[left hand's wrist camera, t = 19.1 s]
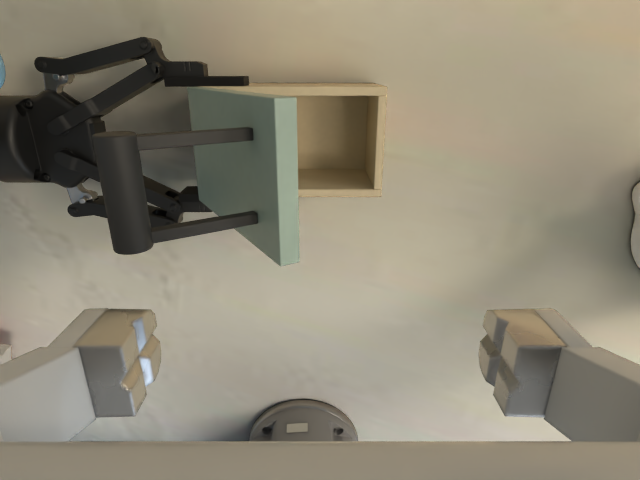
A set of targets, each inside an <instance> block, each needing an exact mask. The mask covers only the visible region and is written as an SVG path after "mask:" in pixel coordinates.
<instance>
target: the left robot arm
mask: <svg viewBox="0 0 640 480" xmlns="http://www.w3.org/2000/svg"><path fill="white" fill-rule="evenodd" d="M632 200H633V206H634V210H635V220H634V224H633V229H632V234H631V250H632V255H633V258H634V260H635V262H636V264H637V266H638V267H639V268H640V182H639V183H638V184H637V185H636V186H635V187H634V189H633V192H632ZM156 327H157V323H156V318H155V313H154V312H153V311H152V310H147V309H108V308H104V309H86V310H84V311H83V312H82V313H81V314H80V315H79V316H78V317H77V318H76V319H75V320H74V321H73V322H72V323H71V324H70V325H69V326H68V327H67V328H66V329H65V330H64V331H63V332H62V333H61V334H60V335H59V336H58V337H57V338H56V339H55V340H54V341H53V342H52V343H51V344H50V345H49V346H48V347H40V348H37V349H35V350H33V351H31V352H28V353H26V354H24V355H22V356H19V357H17V358H15V359H12V360H10V361H8V362H6V363H3V364H1V365H0V480H640V365H639V364H637V363H634V362H632V361H630V360H627V359H625V358H623V357H621V356H618V355H616V354H614V353H612V352H609V351H607V350H605V349H603V348H600V347H592V346H591V345H590V344H589V343H588V342H587V341H586V340H585V339H584V338H583V337H582V336H581V335H580V334H579V333H578V332H577V331H576V330H575V329H574V328H573V327H572V326H571V325H570V324H569V323H568V322H567V321H566V320H565V319H564V318H563V317H562V316H561V315H560V314H559V313H558V312H557V311H556V310H554V309H551V308H545V309H511V310H487V312H486V314H485V317H484V322H483V327H484V328H485V330H486V332H487V333H488V334H487V335H486V336H485V337H484V338H483V339H482V340H481V341H480V347H479V363H480V368H481V371H482V374H483V376H484V378H485V380H486V381H487V382H488V383H490V384H491V385H493V386H494V387H495V388H494V393H493V395H494V397H495V399H496V401H497V402H498V404H499V406H500V408H501V410H502V412H503V413H504V415H505V416H514V417H544V420H546V421H547V422H548V423H550V424H551V425H552V426H553V427H555V428H556V429H557V430H559V431H560V432H561V433H562V434H564V435H565V436H566V437H567V438H569V439H570V440H571V441H300V442H247V441H69V440H70V439H71V438H73V437H74V436H75V435H77V434H78V433H79V432H80V431H82V430H83V429H84V428H85V427H87V426H88V425H89V424H91V423H92V422H93V421H94V420H96V417H125V416H135V415H136V414H137V412H138V410H139V408H140V406H141V404H142V402H143V401H144V399H145V397H146V395H147V393H146V388H145V387H146V386H147V385H149V384H150V383H152V382H153V381H154V380H155V378H156V376H157V374H158V372H159V367H160V363H161V347H160V341H159V340H158V339H157V338H156V337H155V336H154V335H153V334H152V333H153V332H154V330H155V328H156Z"/></svg>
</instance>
